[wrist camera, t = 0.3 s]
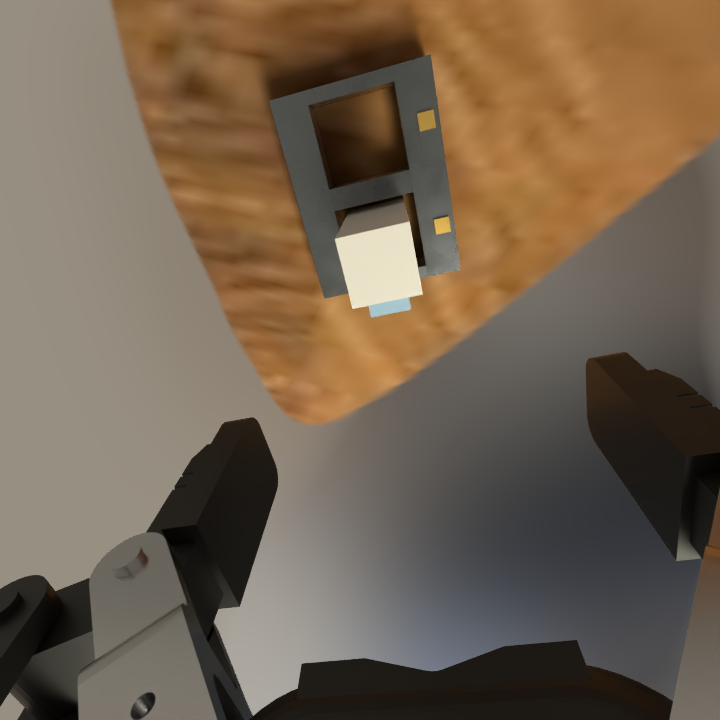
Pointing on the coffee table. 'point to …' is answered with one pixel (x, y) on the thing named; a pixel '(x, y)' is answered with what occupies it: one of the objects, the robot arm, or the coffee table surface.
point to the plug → (379, 258)
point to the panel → (419, 178)
